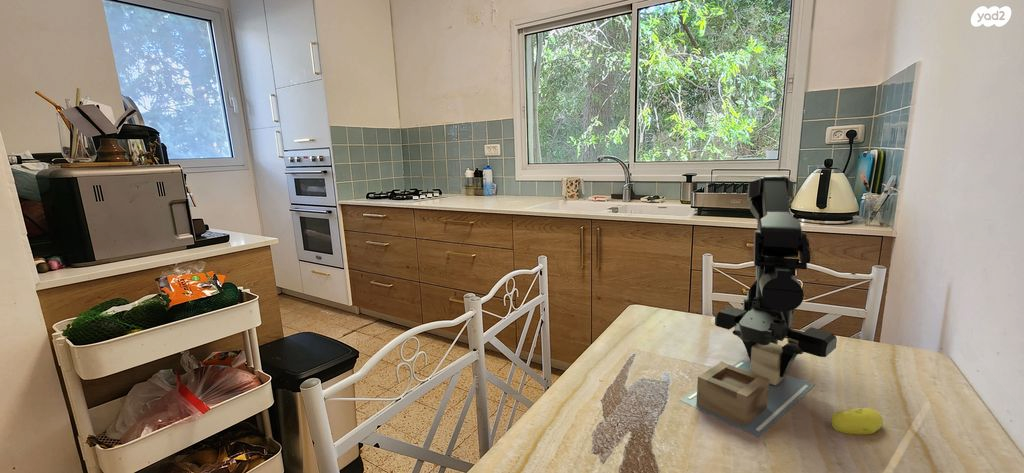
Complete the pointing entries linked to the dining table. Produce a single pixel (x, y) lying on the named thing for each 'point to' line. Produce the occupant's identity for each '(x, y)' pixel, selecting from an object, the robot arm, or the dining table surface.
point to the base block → (732, 393)
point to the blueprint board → (777, 403)
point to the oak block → (767, 361)
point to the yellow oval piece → (857, 421)
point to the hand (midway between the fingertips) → (767, 371)
